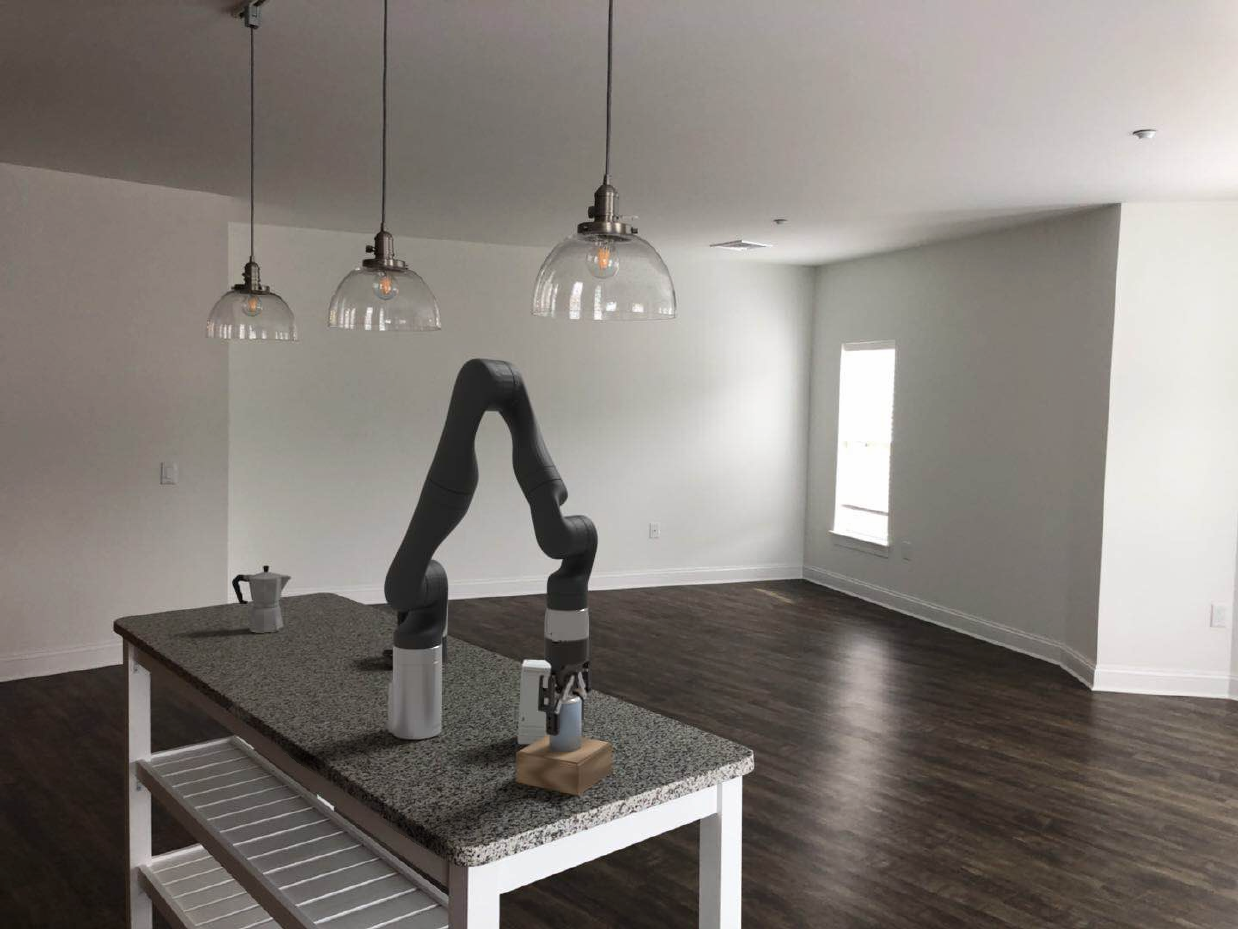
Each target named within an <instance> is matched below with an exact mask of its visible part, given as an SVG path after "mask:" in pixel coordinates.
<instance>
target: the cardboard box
mask: <svg viewBox="0 0 1238 929" xmlns="http://www.w3.org/2000/svg"><path fill="white" fill-rule="evenodd" d="M612 767H613V743H612V742H611V743H610V742H609V741H604V740H598V739H592V738H587V737H583V736H581V748H580V749H579V750H576V751H572V752H558V751H554V750H551V749H550V748H549V735H547V736H545V737H543V738H541V739H540V740H538V741H536V742H534V743H533V744H528V745H527V746H526V747H523V748H522V749H520V750H518V751H517V752H516V753H515V783H519V784H522V785H527V786H528V785H529V786H531V787H532V786H533V787H537V788H542V789H546V790H550V791H554V792H555V791H556V792H559V793H564V794H569V795H574V796H580V795H581V794H582V793H584V792H585V791H587V790H588V789H590V788H591V787H592V786H594V785H596V784H597V783H598V782H599V781H602V779H604V778H605V777H607V776H608V775H610V774H611V773H612V772H613V768H612Z"/></svg>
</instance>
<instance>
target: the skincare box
mask: <svg viewBox="0 0 1238 929" xmlns="http://www.w3.org/2000/svg"><path fill="white" fill-rule="evenodd" d="M520 670H521V671H520V685H519V686H520V688H519V689H520V691H519V708H518V710H519V711H518V726H517V743H518V745H531V744H533V743H534V742H536V741H538V740H540V739H541V738H543V737H545V736H547V735H548V734H547V733H546V713H545V712H542V711H538V696H539V678H540V676H541V675H549V674H550V670H551V665H550V664H549V663H548V662H546V661H545V659H544V660H543V659H523V662H522V664H521V669H520ZM555 694H556V692H555ZM546 699H547V698H544V704H545V702H546Z"/></svg>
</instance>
